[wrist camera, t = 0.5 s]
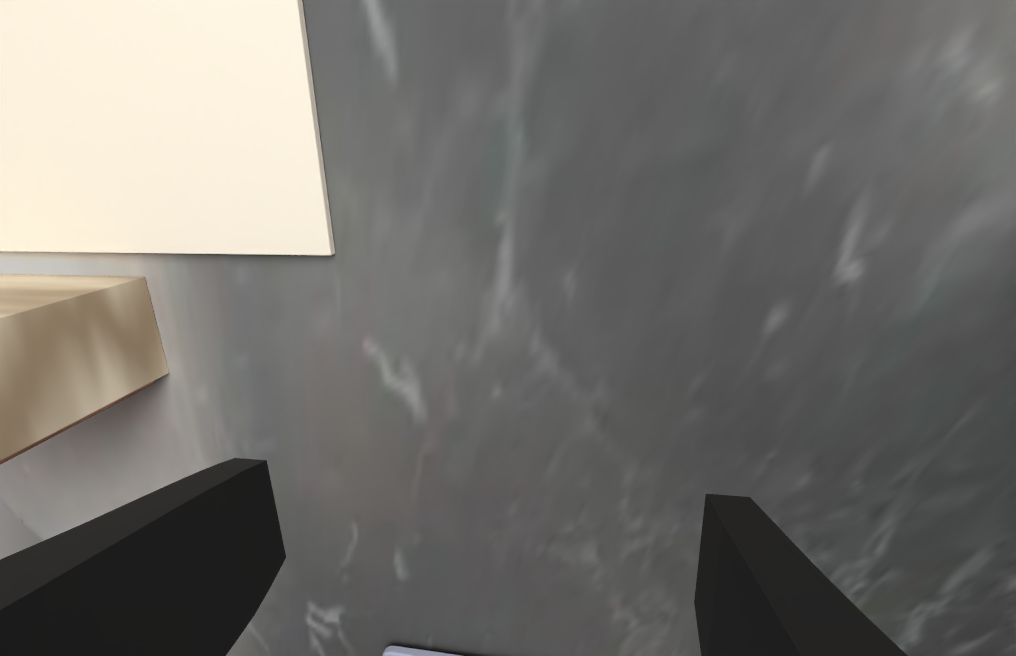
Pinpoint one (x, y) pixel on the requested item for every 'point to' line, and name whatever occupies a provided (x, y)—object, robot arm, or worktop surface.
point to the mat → (159, 128)
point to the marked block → (71, 352)
